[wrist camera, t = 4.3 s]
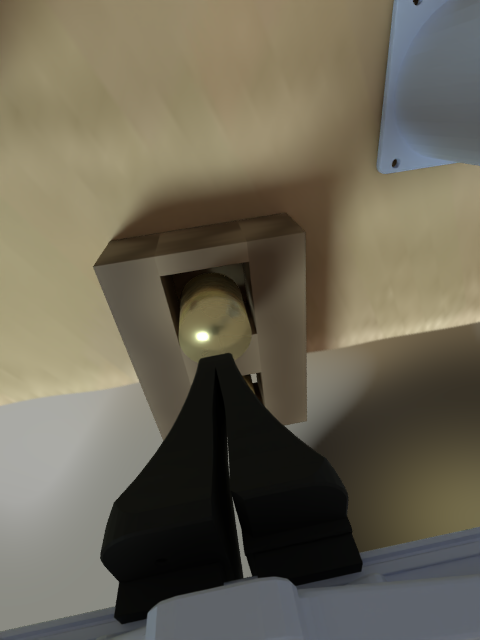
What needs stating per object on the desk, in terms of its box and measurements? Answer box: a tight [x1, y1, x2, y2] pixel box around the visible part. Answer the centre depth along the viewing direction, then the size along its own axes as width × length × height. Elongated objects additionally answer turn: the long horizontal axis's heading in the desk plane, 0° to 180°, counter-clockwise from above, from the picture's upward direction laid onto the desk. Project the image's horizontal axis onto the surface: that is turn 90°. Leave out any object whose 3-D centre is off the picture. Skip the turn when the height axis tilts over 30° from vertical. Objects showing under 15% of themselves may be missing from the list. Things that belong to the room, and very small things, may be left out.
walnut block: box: [93, 213, 307, 441], centre depth 22 cm, size 11×15×4 cm
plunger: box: [179, 273, 252, 363], centre depth 17 cm, size 4×4×4 cm
